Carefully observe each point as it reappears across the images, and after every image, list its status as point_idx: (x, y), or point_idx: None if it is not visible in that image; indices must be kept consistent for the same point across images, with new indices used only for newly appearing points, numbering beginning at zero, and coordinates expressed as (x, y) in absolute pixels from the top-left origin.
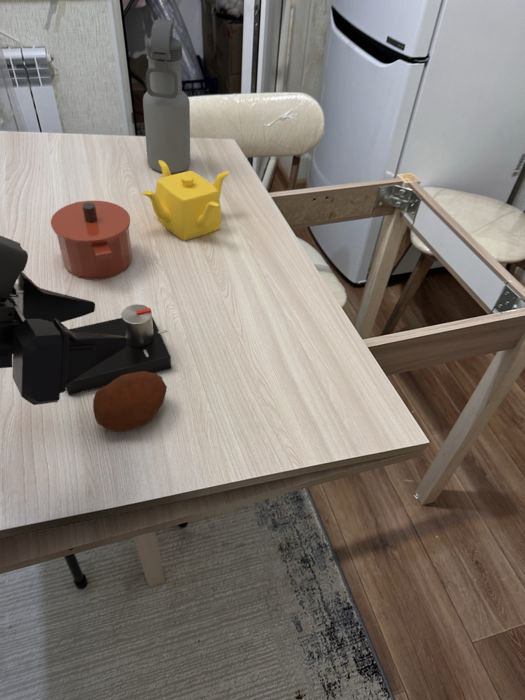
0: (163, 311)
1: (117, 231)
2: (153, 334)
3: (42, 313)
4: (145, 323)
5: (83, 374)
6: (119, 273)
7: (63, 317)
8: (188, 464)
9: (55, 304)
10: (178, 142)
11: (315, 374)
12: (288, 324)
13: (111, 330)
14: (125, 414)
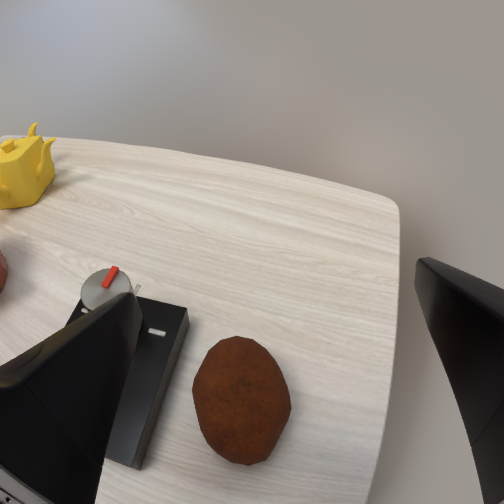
0: None
1: None
2: None
3: (69, 445)
4: (131, 290)
5: (131, 434)
6: (5, 279)
7: (111, 399)
8: (359, 381)
9: (70, 386)
10: None
11: (299, 210)
12: (218, 192)
13: None
14: (283, 419)
